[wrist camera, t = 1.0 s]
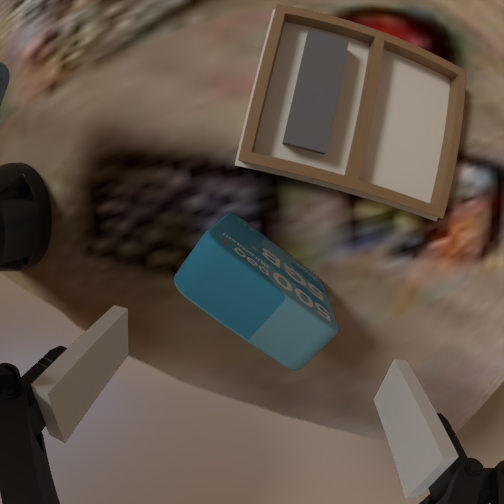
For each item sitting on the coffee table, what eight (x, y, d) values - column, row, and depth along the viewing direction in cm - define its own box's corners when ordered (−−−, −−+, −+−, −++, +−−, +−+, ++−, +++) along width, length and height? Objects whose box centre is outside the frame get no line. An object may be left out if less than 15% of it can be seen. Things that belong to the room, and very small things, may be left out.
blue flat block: (322, 279, 31) (344, 338, 20) (295, 310, 33) (301, 378, 21) (231, 209, 30) (202, 232, 19) (205, 244, 32) (165, 284, 20)
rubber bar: (282, 144, 27) (282, 142, 26) (306, 37, 24) (308, 29, 22) (322, 154, 27) (326, 153, 25) (344, 47, 24) (348, 40, 22)
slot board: (235, 165, 29) (231, 164, 26) (273, 12, 24) (272, 0, 22) (433, 220, 29) (445, 225, 26) (457, 75, 24) (469, 69, 21)
